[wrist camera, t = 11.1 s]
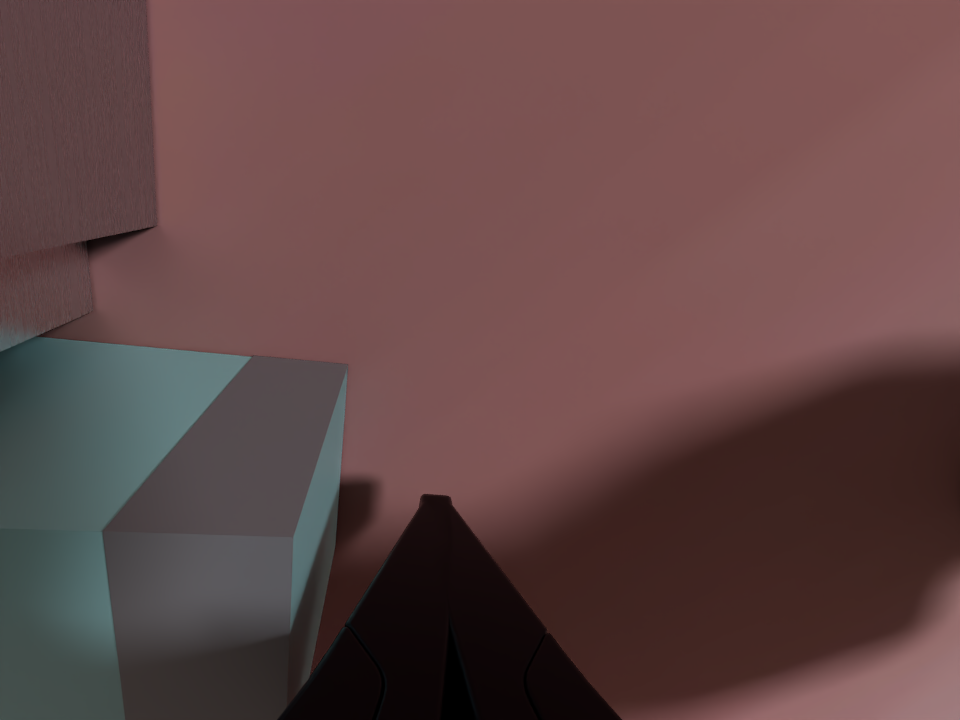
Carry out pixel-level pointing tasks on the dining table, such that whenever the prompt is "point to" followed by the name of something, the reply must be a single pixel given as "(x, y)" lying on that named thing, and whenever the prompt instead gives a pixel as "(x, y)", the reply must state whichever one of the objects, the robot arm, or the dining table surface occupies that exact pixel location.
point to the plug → (163, 529)
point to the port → (68, 151)
